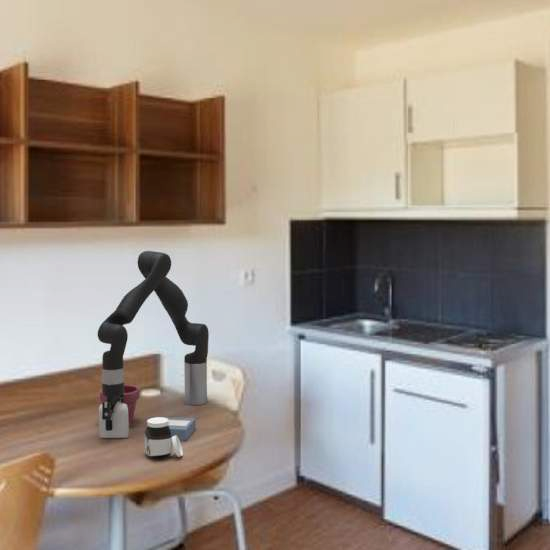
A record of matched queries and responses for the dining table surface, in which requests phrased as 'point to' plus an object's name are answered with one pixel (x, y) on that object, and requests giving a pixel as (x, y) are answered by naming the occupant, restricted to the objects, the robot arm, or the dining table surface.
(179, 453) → the spread jar
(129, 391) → the plant pot
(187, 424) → the base block
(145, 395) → the dining table surface
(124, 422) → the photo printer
